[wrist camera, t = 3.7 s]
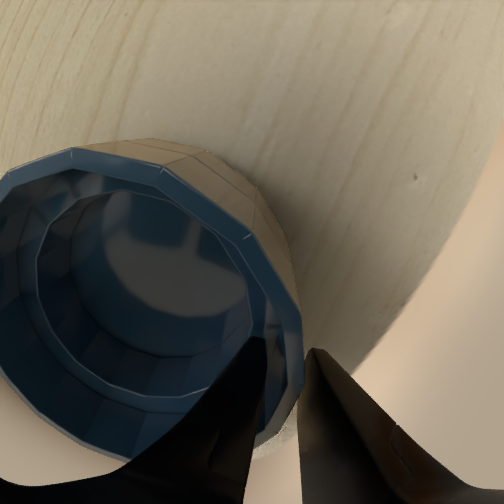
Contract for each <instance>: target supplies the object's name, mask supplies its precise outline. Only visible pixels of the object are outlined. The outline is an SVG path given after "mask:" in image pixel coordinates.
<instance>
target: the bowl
mask: <svg viewBox="0 0 504 504" xmlns="http://www.w3.org/2000/svg"><path fill="white" fill-rule="evenodd" d="M250 336H256V337H261V338H264V339H265V342H266V352H267V362H268V368H267V375H266V381H265V387H264V392H263V398H262V404H261V409H260V415H259V421H258V426H257V432H256V437H255V442H254V448H253V449H255V448H257V447H258V446H260V445H261V444H263V443H264V442H266V441H267V440H269V439H270V438H272V437H273V436H275V435H276V434H278V432H279V431H280V430H281V428H282V426H283V424H284V423H285V421H286V419H287V417H288V415H289V414H290V412H291V410H292V408H293V406H294V404H295V403H296V401H297V399H298V397H299V395H300V393H301V391H302V389H303V388H304V386H305V361H304V342H303V325H302V314H301V308H300V303H299V298H298V293H297V288H296V282H295V277H294V272H293V268H292V263H291V258H290V253H289V248H288V243H287V240H286V236H285V235H284V233H283V231H282V229H281V227H280V226H279V224H278V222H277V220H276V219H275V217H274V215H273V213H272V212H271V210H270V208H269V206H268V205H267V203H266V201H265V199H264V198H263V196H262V194H261V193H260V191H259V189H258V188H256V186H255V185H254V184H252V183H251V182H250V181H248V180H247V179H246V178H244V177H243V176H242V175H240V174H239V173H238V172H236V171H235V170H234V169H232V168H231V167H230V166H228V165H227V164H226V163H224V162H223V161H222V160H220V159H219V158H217V157H216V156H215V155H213V154H212V153H211V152H207V151H206V150H203V149H199V148H195V147H190V146H186V145H182V144H177V143H172V142H168V141H163V140H158V139H153V138H152V139H149V138H148V139H136V140H126V141H116V142H107V143H99V144H91V145H84V146H77V147H71V148H67V149H64V150H61V151H58V152H55V153H53V154H50V155H47V156H44V157H41V158H38V159H36V160H33V161H30V162H28V163H25V164H22V165H20V166H17V167H15V168H12V169H10V170H9V171H7V172H6V174H5V175H4V176H3V177H2V179H1V180H0V375H1V377H2V378H3V379H4V380H5V382H6V383H7V384H8V385H9V386H10V387H11V388H12V390H13V391H14V392H15V393H16V394H17V395H18V396H19V397H20V398H21V400H22V401H23V402H24V403H25V404H26V405H27V406H28V407H29V408H30V409H31V410H32V411H33V412H34V413H35V414H36V415H37V416H38V417H40V418H41V419H42V420H44V421H45V422H46V423H48V424H49V425H51V426H52V427H54V428H55V429H56V430H58V431H59V432H61V433H62V434H64V435H65V436H67V437H68V438H70V439H71V440H73V441H75V442H76V443H78V444H79V445H81V446H83V447H85V448H88V449H90V450H93V451H95V452H98V453H100V454H103V455H105V456H108V457H111V458H114V459H117V460H119V461H122V462H125V463H128V462H130V461H131V460H132V459H134V458H135V457H136V456H138V455H139V454H140V453H141V452H143V451H144V450H145V449H147V448H148V447H149V446H150V445H152V444H153V443H154V442H155V441H157V440H158V439H159V438H160V437H162V436H163V435H164V434H165V433H167V432H168V431H169V430H170V429H171V428H172V427H173V426H174V425H176V424H177V423H178V422H179V421H180V420H181V419H182V418H183V417H184V416H185V414H186V413H187V412H188V411H189V410H190V409H191V408H192V407H193V406H194V404H195V403H196V402H197V401H199V399H200V397H201V396H202V395H203V394H204V393H205V391H206V390H207V389H208V388H209V387H210V385H211V384H212V383H213V382H214V380H215V379H216V378H217V377H218V376H219V374H220V373H221V372H222V371H223V369H224V368H225V367H226V366H227V364H228V363H229V362H230V361H231V359H232V358H233V357H234V356H235V354H236V353H237V352H238V351H239V349H240V348H241V347H242V346H243V344H244V343H245V342H246V341H247V339H248V338H249V337H250Z"/></svg>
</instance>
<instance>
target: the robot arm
mask: <svg viewBox="0 0 504 504" xmlns="http://www.w3.org/2000/svg"><path fill="white" fill-rule="evenodd" d="M304 361H305V386H304V388H303V389H302V391H301V393H300V395H299V397H298V409H297V429H298V443H299V456H300V471H301V486H302V502H303V504H504V490H495V489H482V488H476V487H473V486H471V485H468V484H466V483H465V482H463V481H462V480H460V479H459V478H458V477H457V476H455V475H454V474H453V473H452V472H450V471H449V470H448V469H447V468H445V467H444V466H443V465H441V463H439V462H438V461H437V460H435V459H434V458H433V457H432V456H431V455H430V454H429V453H427V452H426V451H425V450H424V449H423V448H421V447H420V446H419V445H418V444H417V443H416V442H415V441H414V440H413V439H412V438H411V437H410V436H409V435H408V434H407V433H406V432H405V431H404V430H403V429H402V428H401V427H400V426H399V425H396V422H395V421H394V420H393V419H392V418H391V417H390V416H389V415H388V414H387V413H386V412H385V411H384V410H383V409H382V408H381V407H380V406H379V405H378V404H377V403H376V402H375V401H374V400H373V399H372V398H371V397H370V396H369V395H368V394H367V393H366V392H365V391H364V390H363V389H362V388H361V387H360V386H359V385H358V383H356V382H355V380H354V379H353V378H352V377H351V376H350V375H349V374H348V373H347V372H346V371H345V370H344V369H343V368H342V367H341V366H340V365H339V364H338V363H337V362H336V361H335V360H334V359H333V358H332V357H331V356H330V355H329V354H328V352H327V351H325V350H324V349H318V348H311V349H310V350H309V351H308V353H307V355H306V358H305V360H304ZM267 368H268V362H267V352H266V342H265V339H264V338H261V337H256V336H250V337H249V338H248V339H247V341H246V342H245V343H244V344H243V346H242V347H241V348H240V349H239V351H238V352H237V353H236V354H235V356H234V357H233V358H232V359H231V361H230V362H229V363H228V364H227V366H226V367H225V368H224V369H223V371H222V372H221V373H220V374H219V376H218V377H217V378H216V379H215V380H214V382H213V383H212V384H211V385H210V387H209V388H208V389H207V390H206V391H205V393H204V394H203V395H202V396H201V397H200V399H199V401H197V402H196V403H195V404H194V406H193V407H192V408H191V409H190V410H189V411H188V412H187V413H186V414H185V416H184V417H183V418H182V419H181V420H180V421H179V422H178V423H177V424H176V425H174V426H173V427H172V428H171V429H170V430H169V431H168V432H167V433H165V434H164V435H163V436H162V437H160V438H159V439H158V440H157V441H155V442H154V443H153V444H152V445H150V446H149V447H148V448H147V449H145V450H144V451H143V452H141V453H140V454H139V455H138V456H136V457H135V458H134V459H132V460H131V461H130V462H128V463H127V464H125V465H124V466H122V467H121V468H119V469H117V470H115V471H113V472H111V473H108V474H105V475H101V476H97V477H92V478H87V479H82V480H77V481H71V482H64V483H59V484H51V485H45V486H24V485H18V484H14V483H11V482H8V481H6V480H4V479H2V478H0V504H243V499H244V493H245V487H246V484H247V478H248V473H249V468H250V463H251V458H252V453H253V448H254V442H255V437H256V432H257V426H258V421H259V415H260V409H261V404H262V398H263V392H264V387H265V381H266V375H267Z"/></svg>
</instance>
